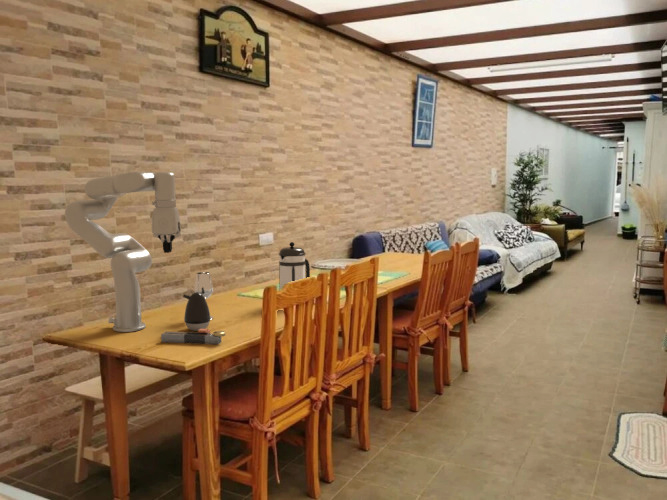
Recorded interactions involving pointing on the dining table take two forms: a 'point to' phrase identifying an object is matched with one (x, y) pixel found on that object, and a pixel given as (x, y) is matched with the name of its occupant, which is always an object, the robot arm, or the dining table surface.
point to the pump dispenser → (196, 312)
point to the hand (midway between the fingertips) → (167, 252)
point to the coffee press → (292, 265)
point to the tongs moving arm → (190, 338)
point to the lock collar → (204, 331)
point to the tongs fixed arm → (216, 333)
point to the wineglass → (204, 285)
